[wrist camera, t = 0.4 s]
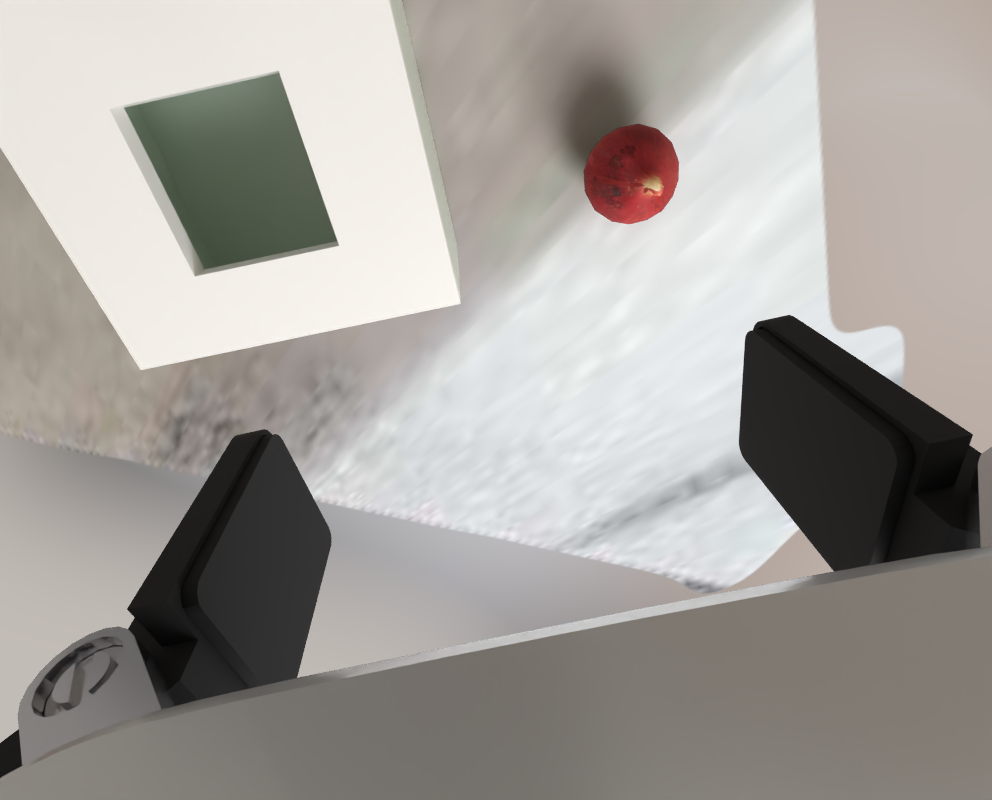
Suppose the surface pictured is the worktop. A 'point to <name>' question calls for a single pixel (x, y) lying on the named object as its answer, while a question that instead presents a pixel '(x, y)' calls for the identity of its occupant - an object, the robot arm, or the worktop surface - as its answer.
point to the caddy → (229, 165)
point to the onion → (631, 174)
